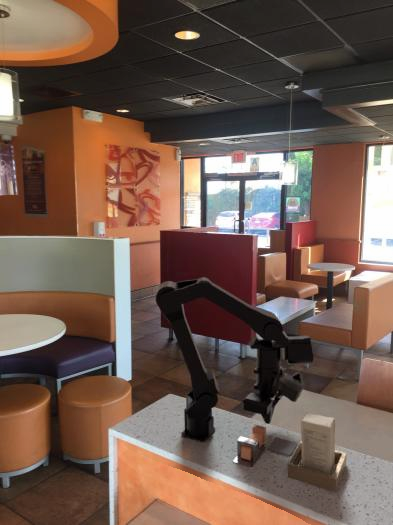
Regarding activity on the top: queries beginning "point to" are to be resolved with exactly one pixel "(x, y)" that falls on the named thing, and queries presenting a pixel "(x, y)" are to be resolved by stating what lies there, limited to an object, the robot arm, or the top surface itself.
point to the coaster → (282, 446)
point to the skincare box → (318, 443)
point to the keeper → (256, 452)
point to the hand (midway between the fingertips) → (267, 423)
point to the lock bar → (257, 435)
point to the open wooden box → (315, 476)
